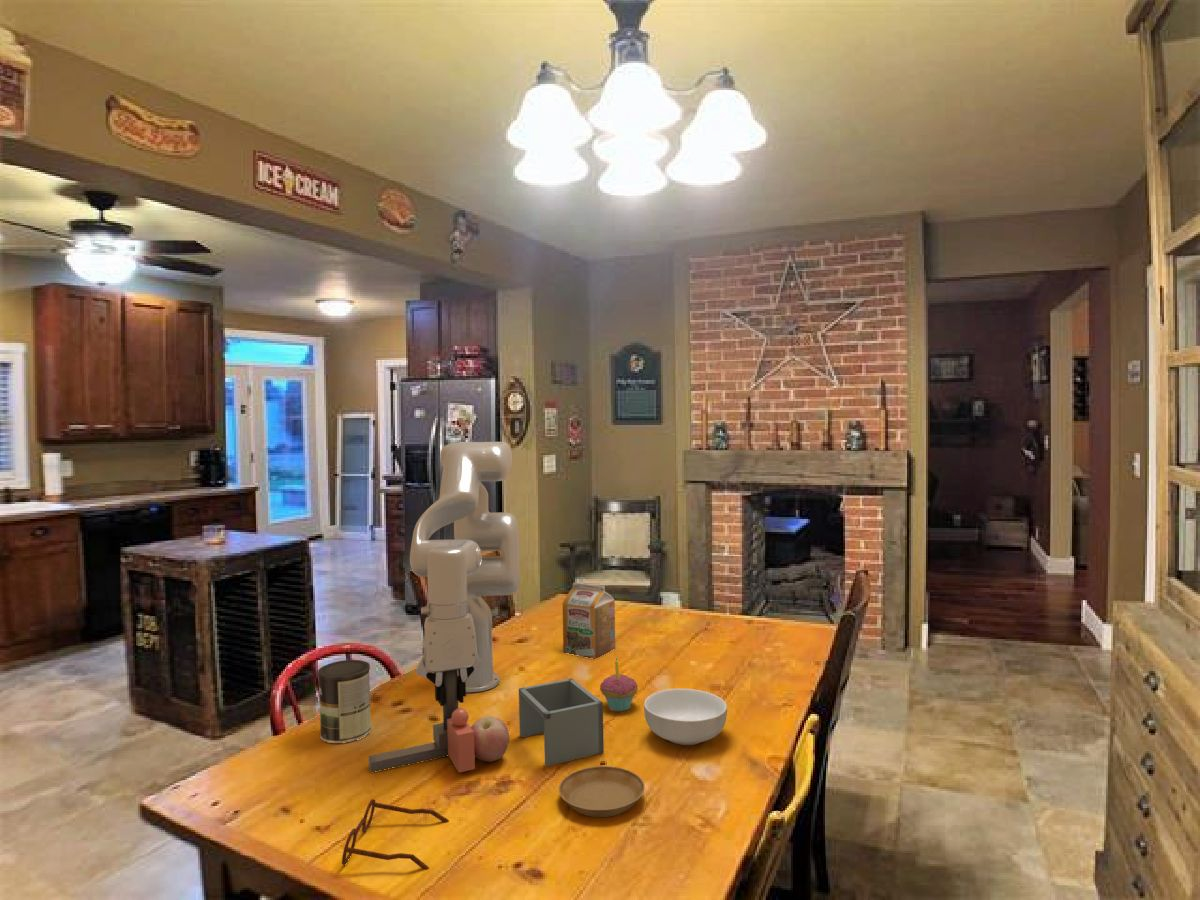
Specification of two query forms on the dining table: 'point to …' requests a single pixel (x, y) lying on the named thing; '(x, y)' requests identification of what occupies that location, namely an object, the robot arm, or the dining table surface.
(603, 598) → the milk carton
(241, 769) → the dining table surface
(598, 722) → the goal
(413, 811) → the glasses
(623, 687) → the cupcake
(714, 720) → the cereal bowl
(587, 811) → the plant saucer
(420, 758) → the rail
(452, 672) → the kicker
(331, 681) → the coffee can
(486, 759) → the apple
